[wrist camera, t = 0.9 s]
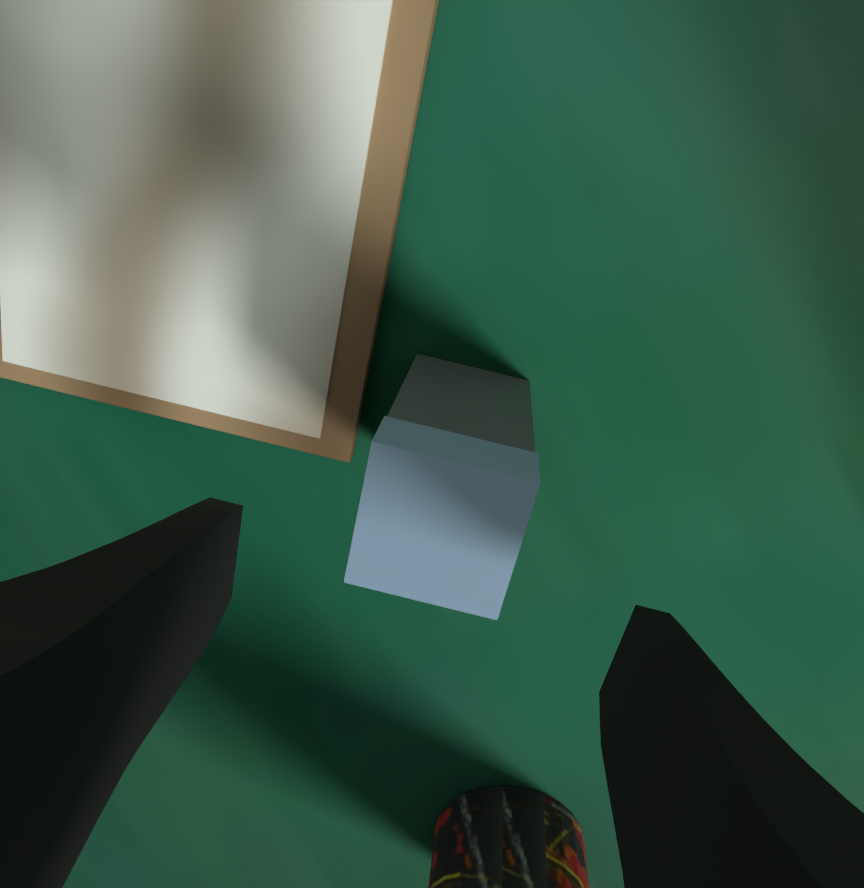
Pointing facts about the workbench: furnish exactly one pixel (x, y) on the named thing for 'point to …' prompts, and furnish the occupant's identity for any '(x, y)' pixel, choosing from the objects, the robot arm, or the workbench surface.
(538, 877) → the deodorant
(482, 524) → the block
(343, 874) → the workbench surface
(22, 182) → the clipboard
